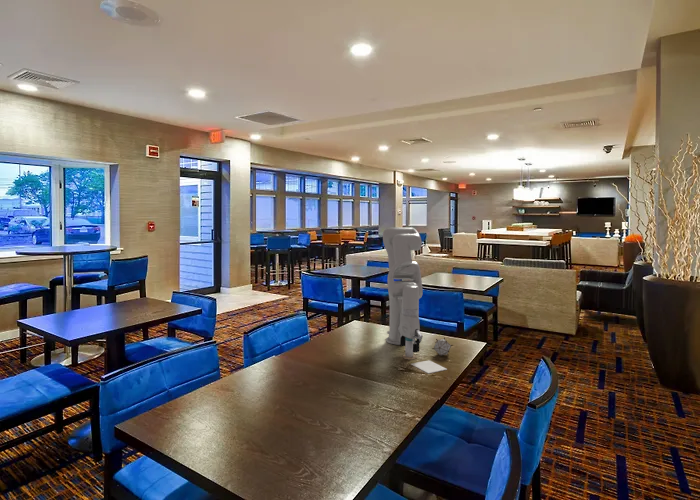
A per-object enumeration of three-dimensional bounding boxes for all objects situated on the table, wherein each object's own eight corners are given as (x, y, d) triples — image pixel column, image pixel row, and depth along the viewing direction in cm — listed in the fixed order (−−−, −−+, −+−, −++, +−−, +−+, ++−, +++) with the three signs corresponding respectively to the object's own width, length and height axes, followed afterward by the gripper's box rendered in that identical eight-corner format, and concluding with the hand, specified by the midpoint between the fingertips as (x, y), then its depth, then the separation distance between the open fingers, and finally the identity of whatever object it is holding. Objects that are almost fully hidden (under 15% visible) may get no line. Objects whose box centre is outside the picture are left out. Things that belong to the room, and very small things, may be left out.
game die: (445, 364, 191) (455, 351, 185) (428, 357, 191) (438, 344, 185) (446, 349, 199) (455, 336, 193) (429, 343, 198) (438, 330, 192)
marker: (403, 355, 190) (403, 336, 190) (410, 354, 192) (410, 335, 192) (408, 358, 187) (408, 338, 187) (414, 356, 189) (415, 337, 188)
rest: (399, 356, 191) (399, 355, 191) (410, 354, 194) (411, 353, 194) (407, 360, 185) (407, 359, 185) (419, 358, 188) (419, 357, 188)
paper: (410, 364, 180) (410, 363, 180) (429, 360, 185) (429, 360, 185) (428, 373, 170) (428, 373, 170) (447, 369, 174) (447, 368, 174)
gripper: (392, 309, 194) (392, 344, 195) (415, 317, 179) (414, 355, 180) (405, 307, 197) (405, 342, 199) (428, 315, 182) (428, 353, 183)
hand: (409, 348), depth 189 cm, fingers open, 9 cm apart
